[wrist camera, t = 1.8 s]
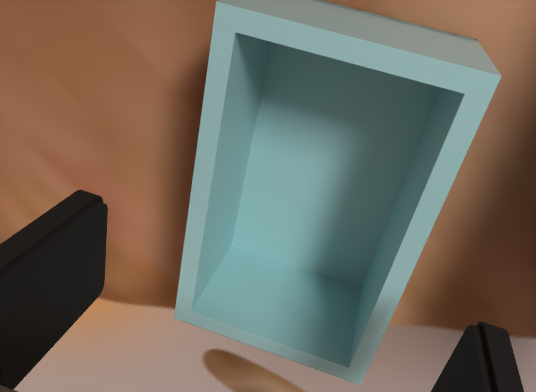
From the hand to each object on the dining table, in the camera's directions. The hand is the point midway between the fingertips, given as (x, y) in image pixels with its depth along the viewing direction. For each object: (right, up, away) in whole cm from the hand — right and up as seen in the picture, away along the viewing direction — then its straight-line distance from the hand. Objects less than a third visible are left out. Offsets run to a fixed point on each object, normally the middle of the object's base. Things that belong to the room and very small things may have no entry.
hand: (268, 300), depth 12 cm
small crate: (+2, +4, +7) cm, 8 cm away
